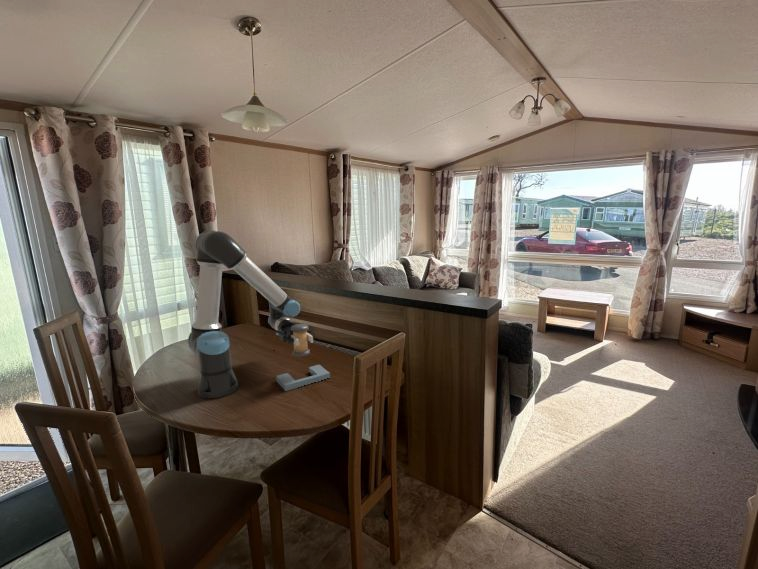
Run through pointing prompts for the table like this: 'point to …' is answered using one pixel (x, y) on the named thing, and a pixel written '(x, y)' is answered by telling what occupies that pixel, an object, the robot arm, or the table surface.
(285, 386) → the notched board
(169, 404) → the table surface
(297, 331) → the bobbin
